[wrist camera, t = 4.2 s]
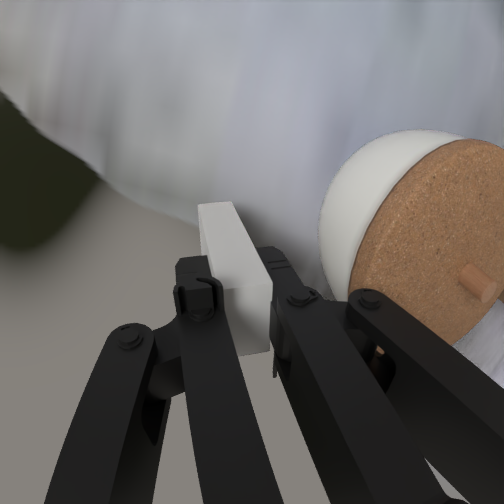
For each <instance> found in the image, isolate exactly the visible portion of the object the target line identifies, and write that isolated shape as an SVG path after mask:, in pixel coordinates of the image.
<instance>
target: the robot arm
mask: <svg viewBox="0 0 504 504" xmlns="http://www.w3.org/2000/svg"><path fill="white" fill-rule="evenodd" d="M198 214H199V227H200V240H201V251H202V256H193V257H185V258H180V259H179V261H178V263H177V264H176V266H175V270H176V285H175V287H174V290H173V295H174V300H175V306H176V312H177V315H176V317H175V318H174V319H173V320H172V321H171V322H170V323H168V324H167V325H165V326H163V327H161V328H158V329H155V330H153V331H152V330H151V329H150V328H149V327H147V326H146V325H143V324H139V323H130V324H125V325H122V326H119V327H118V328H116V329H115V330H113V331H112V332H111V334H110V335H109V336H108V338H107V340H106V342H105V344H104V346H103V349H102V351H101V353H100V355H99V357H98V360H97V362H96V364H95V366H94V369H93V371H92V373H91V376H90V378H89V381H88V383H87V385H86V387H85V390H84V392H83V395H82V397H81V400H80V402H79V405H78V407H77V410H76V412H75V415H74V417H73V420H72V422H71V425H70V428H69V430H68V433H67V436H66V438H65V441H64V444H63V447H62V449H61V452H60V455H59V458H58V461H57V464H56V467H55V470H54V473H53V476H52V479H51V482H50V486H49V489H48V492H47V495H46V499H45V502H44V504H152V502H153V495H154V489H155V483H156V478H157V472H158V466H159V461H160V455H161V450H162V444H163V439H164V434H165V429H166V423H167V419H168V414H169V409H170V404H171V397H173V396H175V395H178V394H180V393H183V392H185V395H186V402H187V409H188V416H189V424H190V430H191V436H192V442H193V449H194V455H195V461H196V466H197V472H198V478H199V483H200V488H201V493H202V498H203V503H204V504H284V502H283V499H282V497H281V494H280V491H279V488H278V485H277V482H276V479H275V476H274V473H273V470H272V467H271V464H270V461H269V458H268V455H267V451H266V449H265V445H264V442H263V439H262V436H261V433H260V430H259V427H258V423H257V420H256V417H255V413H254V410H253V407H252V404H251V400H250V397H249V394H248V391H247V387H246V384H245V380H244V377H243V373H242V370H241V367H240V363H239V360H238V356H244V355H250V354H256V353H261V352H267V351H270V340H271V343H272V345H273V348H274V361H273V378H275V377H276V376H277V371H278V374H279V376H280V379H281V381H282V384H283V386H284V389H285V392H286V394H287V397H288V399H289V402H290V404H291V407H292V409H293V412H294V415H295V417H296V419H297V422H298V425H299V427H300V429H301V432H302V435H303V437H304V440H305V442H306V445H307V447H308V450H309V452H310V454H311V457H312V459H313V462H314V464H315V467H316V469H317V471H318V474H319V477H320V479H321V482H322V484H323V486H324V488H325V491H326V493H327V496H328V498H329V501H330V503H331V504H468V503H467V502H465V501H463V500H459V499H454V498H450V497H449V496H447V495H446V494H445V492H444V491H443V489H442V487H441V486H440V484H439V482H438V481H437V479H436V478H435V475H434V474H433V472H432V470H431V469H430V467H429V465H428V463H427V462H426V460H427V461H428V462H429V463H430V464H431V465H432V466H433V467H434V468H435V469H436V470H437V471H438V472H439V473H440V474H441V475H442V476H443V477H444V478H445V479H446V480H447V481H448V482H449V483H450V484H451V485H452V486H453V487H454V488H455V489H456V490H457V491H458V492H459V493H460V494H461V495H462V496H463V497H464V498H465V499H466V500H467V501H468V502H469V503H470V504H504V389H503V388H502V387H501V386H499V385H498V384H497V383H496V382H495V381H493V380H492V379H491V378H490V377H489V376H487V375H486V374H485V373H484V372H483V371H481V370H480V369H479V368H478V367H477V366H475V365H474V364H473V363H472V362H470V361H469V360H468V359H467V358H465V357H464V356H463V355H462V354H461V353H459V352H458V351H457V350H456V349H454V348H453V347H452V346H451V345H449V344H448V343H447V342H446V341H444V340H443V339H442V338H440V337H439V336H438V335H437V334H435V333H434V332H433V331H432V330H430V329H429V328H428V327H426V326H425V325H424V324H423V323H421V322H420V321H419V320H417V319H416V318H415V317H414V316H412V315H411V314H410V313H408V312H407V311H406V310H404V309H403V308H402V307H400V306H399V305H398V304H397V303H395V302H394V301H393V300H391V299H390V298H389V297H387V296H386V295H385V294H383V293H381V292H379V291H377V290H374V289H369V288H361V289H357V290H354V291H353V292H351V293H350V295H349V297H348V302H346V301H329V300H324V299H323V298H322V296H321V295H320V294H319V293H318V292H317V291H316V290H314V289H312V288H310V287H306V286H304V285H303V283H302V282H301V280H300V279H299V277H298V276H297V274H296V272H295V271H294V269H293V268H292V267H291V265H290V263H289V262H288V261H287V258H286V257H285V255H284V254H283V252H281V251H280V250H278V249H277V248H275V247H273V246H272V247H263V248H255V247H254V245H253V243H252V241H251V239H250V237H249V235H248V233H247V231H246V230H245V228H244V226H243V224H242V222H241V220H240V218H239V216H238V214H237V212H236V210H235V208H234V206H233V204H232V202H231V201H228V202H217V203H207V204H198ZM378 346H379V347H380V348H381V349H382V350H383V351H384V354H381V353H379V352H378V351H377V347H378ZM425 459H426V460H425Z"/></svg>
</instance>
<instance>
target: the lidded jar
mask: <svg viewBox="0 0 504 504" xmlns="http://www.w3.org/2000/svg"><path fill="white" fill-rule="evenodd" d="M318 243H319V255H320V259H321V263H322V267H323V270H324V273H325V276H326V279H327V282H328V284H329V286H330V288H331V290H332V292H333V294H334V296H335V298H336V301H346V302H348V297H349V295H350V293H351V292H353V291H354V290H357V289H361V288H369V289H374V290H377V291H379V292H381V293H383V294H385V295H386V296H387V297H389V298H390V299H391V300H393V301H394V302H395V303H397V304H398V305H399V306H400V307H402V308H403V309H404V310H406V311H407V312H408V313H410V314H411V315H412V316H414V317H415V318H416V319H417V320H419V321H420V322H421V323H423V324H424V325H425V326H426V327H428V328H429V329H430V330H432V331H433V332H434V333H435V334H437V335H438V336H439V337H440V338H442V339H443V340H444V341H446V342H447V343H448V344H449V345H452V344H454V343H455V342H457V341H458V340H459V339H461V338H462V337H463V336H464V335H465V334H467V333H468V332H469V331H470V330H471V329H472V328H473V327H474V326H475V325H476V324H477V323H478V322H479V321H480V320H481V319H482V318H483V317H484V315H485V314H486V313H487V312H488V311H489V309H490V308H491V307H492V305H493V304H494V303H495V301H496V300H497V298H498V297H499V295H500V294H501V292H502V291H503V289H504V149H502V148H500V147H498V146H496V145H494V144H491V143H489V142H486V141H482V140H476V139H469V138H466V137H463V136H460V135H456V134H452V133H449V132H442V131H434V130H425V129H414V130H403V131H396V132H393V133H390V134H387V135H384V136H381V137H378V138H376V139H374V140H372V141H370V142H368V143H367V144H365V145H364V146H362V147H361V148H360V149H358V150H357V151H356V152H355V153H353V154H352V155H351V156H350V157H349V158H348V160H347V161H346V162H345V163H344V164H343V165H342V166H341V167H340V169H339V170H338V172H337V173H336V174H335V176H334V177H333V179H332V181H331V183H330V185H329V187H328V189H327V192H326V194H325V197H324V200H323V203H322V206H321V211H320V215H319V222H318ZM377 351H378V352H379V353H381V354H384V351H383V350H382V349H381V348H380V347H379V346H378V347H377Z"/></svg>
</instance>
